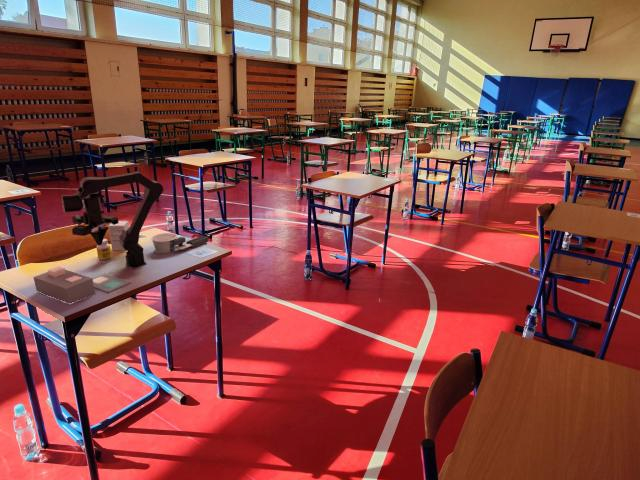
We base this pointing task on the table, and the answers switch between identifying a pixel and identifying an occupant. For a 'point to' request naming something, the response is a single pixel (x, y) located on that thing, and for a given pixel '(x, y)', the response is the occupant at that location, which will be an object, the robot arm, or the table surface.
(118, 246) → the white square tower
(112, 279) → the pattern card
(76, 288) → the console
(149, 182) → the robot arm
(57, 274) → the button
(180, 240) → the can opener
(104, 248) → the supplement bottle
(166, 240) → the food container
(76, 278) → the button
